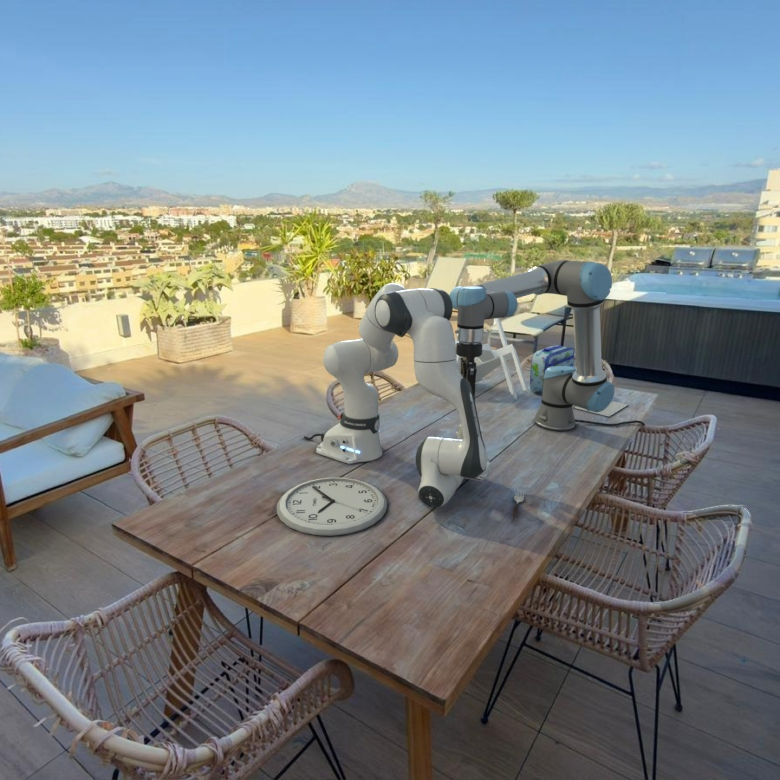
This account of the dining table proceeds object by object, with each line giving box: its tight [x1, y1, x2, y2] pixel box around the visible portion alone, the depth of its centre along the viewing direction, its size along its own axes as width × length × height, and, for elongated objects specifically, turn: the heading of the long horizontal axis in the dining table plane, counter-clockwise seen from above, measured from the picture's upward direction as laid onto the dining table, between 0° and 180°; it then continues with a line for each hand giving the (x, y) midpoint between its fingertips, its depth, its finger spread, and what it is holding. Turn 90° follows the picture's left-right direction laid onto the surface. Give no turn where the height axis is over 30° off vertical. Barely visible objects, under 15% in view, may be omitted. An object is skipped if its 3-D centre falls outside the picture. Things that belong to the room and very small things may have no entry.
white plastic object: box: [455, 318, 531, 400], centre depth 245 cm, size 37×45×31 cm
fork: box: [512, 487, 526, 521], centre depth 143 cm, size 3×16×2 cm, turn 160°
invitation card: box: [573, 400, 629, 418], centre depth 226 cm, size 21×1×15 cm
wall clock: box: [276, 476, 388, 537], centre depth 142 cm, size 30×2×30 cm
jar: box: [455, 423, 464, 439], centre depth 160 cm, size 4×4×16 cm
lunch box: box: [529, 345, 575, 394], centre depth 245 cm, size 26×11×21 cm, turn 134°
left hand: (462, 454), depth 162 cm, fingers closed on jar, 4 cm apart
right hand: (465, 417), depth 157 cm, fingers closed on lid, 5 cm apart
